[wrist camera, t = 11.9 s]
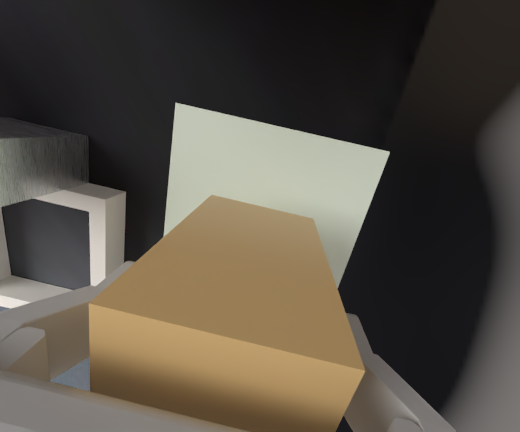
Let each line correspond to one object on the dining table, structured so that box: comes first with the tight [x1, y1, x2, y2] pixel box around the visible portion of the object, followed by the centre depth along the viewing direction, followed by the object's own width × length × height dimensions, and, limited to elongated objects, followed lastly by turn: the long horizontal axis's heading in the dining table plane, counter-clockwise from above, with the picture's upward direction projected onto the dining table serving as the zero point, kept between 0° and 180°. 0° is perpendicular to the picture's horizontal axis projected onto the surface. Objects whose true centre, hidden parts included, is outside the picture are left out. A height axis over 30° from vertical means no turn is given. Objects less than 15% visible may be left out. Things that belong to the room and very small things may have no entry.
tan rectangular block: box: [89, 195, 365, 432], centre depth 9 cm, size 5×5×8 cm
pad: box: [164, 103, 390, 289], centre depth 16 cm, size 12×12×1 cm
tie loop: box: [0, 118, 126, 308], centre depth 15 cm, size 13×10×6 cm
